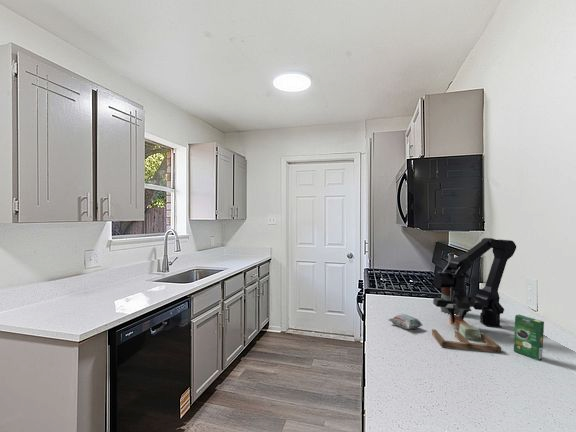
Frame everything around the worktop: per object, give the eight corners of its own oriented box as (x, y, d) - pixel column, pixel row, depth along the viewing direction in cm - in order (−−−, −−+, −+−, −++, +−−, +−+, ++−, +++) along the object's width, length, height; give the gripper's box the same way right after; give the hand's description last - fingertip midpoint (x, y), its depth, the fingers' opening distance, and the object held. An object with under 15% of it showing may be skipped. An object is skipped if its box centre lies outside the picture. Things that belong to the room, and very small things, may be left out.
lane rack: (484, 339, 122) (484, 333, 122) (501, 352, 110) (501, 347, 110) (431, 334, 126) (431, 329, 126) (441, 347, 113) (441, 341, 113)
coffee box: (544, 359, 105) (544, 320, 105) (539, 361, 104) (540, 321, 104) (518, 350, 112) (518, 313, 112) (513, 351, 111) (514, 314, 111)
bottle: (464, 313, 157) (465, 253, 157) (454, 316, 152) (456, 254, 152) (445, 308, 164) (447, 252, 165) (436, 311, 159) (437, 252, 160)
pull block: (460, 323, 140) (460, 315, 140) (478, 340, 121) (479, 330, 121) (448, 323, 141) (448, 314, 141) (465, 339, 122) (465, 328, 122)
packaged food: (408, 333, 127) (408, 321, 127) (387, 324, 137) (387, 312, 137) (423, 330, 131) (423, 318, 131) (401, 321, 141) (401, 311, 141)
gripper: (441, 290, 131) (440, 327, 131) (489, 293, 128) (488, 331, 127) (433, 284, 142) (432, 319, 142) (477, 287, 139) (476, 322, 138)
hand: (456, 323), depth 137 cm, fingers closed on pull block, 2 cm apart
